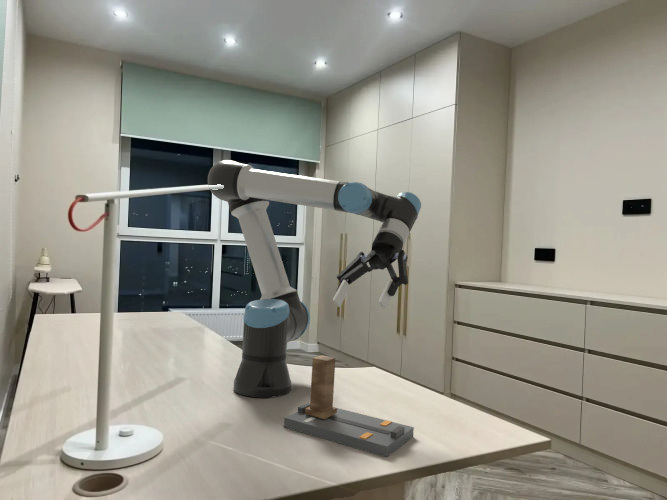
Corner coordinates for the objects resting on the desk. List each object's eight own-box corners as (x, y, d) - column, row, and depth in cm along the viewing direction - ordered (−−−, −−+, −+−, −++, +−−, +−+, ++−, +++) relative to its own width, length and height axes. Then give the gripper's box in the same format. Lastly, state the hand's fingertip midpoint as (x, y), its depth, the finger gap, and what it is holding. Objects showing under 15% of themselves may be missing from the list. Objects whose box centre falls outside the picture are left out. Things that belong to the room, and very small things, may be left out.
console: (284, 426, 108) (284, 412, 108) (317, 411, 119) (318, 397, 119) (386, 457, 95) (387, 440, 95) (413, 436, 106) (414, 421, 106)
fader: (305, 414, 110) (308, 357, 110) (317, 408, 114) (320, 354, 114) (324, 419, 107) (327, 361, 107) (336, 413, 111) (339, 358, 111)
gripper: (438, 248, 126) (409, 316, 115) (358, 251, 142) (326, 311, 131) (426, 227, 122) (395, 295, 111) (345, 232, 138) (311, 293, 127)
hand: (358, 304), depth 121 cm, fingers open, 13 cm apart
